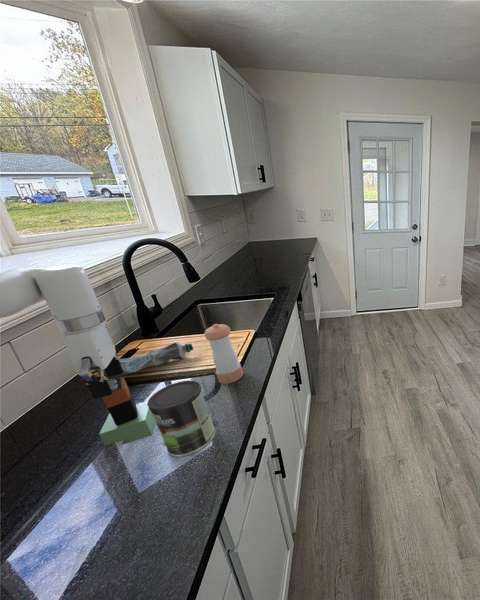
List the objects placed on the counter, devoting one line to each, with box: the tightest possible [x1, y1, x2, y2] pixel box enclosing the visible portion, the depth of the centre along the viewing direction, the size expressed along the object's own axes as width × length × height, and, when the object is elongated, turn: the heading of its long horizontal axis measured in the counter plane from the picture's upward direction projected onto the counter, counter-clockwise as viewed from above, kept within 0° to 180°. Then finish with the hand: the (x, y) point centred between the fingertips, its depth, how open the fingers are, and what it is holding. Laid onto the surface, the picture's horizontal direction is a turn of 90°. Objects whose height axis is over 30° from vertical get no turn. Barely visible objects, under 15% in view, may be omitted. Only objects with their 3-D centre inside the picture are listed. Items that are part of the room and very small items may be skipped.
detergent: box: [103, 341, 194, 381], centre depth 109 cm, size 13×7×25 cm
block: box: [98, 400, 156, 447], centre depth 81 cm, size 9×9×5 cm
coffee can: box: [147, 380, 217, 458], centre depth 75 cm, size 10×10×14 cm
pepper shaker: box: [204, 323, 244, 385], centre depth 98 cm, size 7×7×19 cm
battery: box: [101, 377, 138, 426], centre depth 78 cm, size 4×7×10 cm, turn 43°
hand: (110, 384), depth 76 cm, fingers open, 9 cm apart
